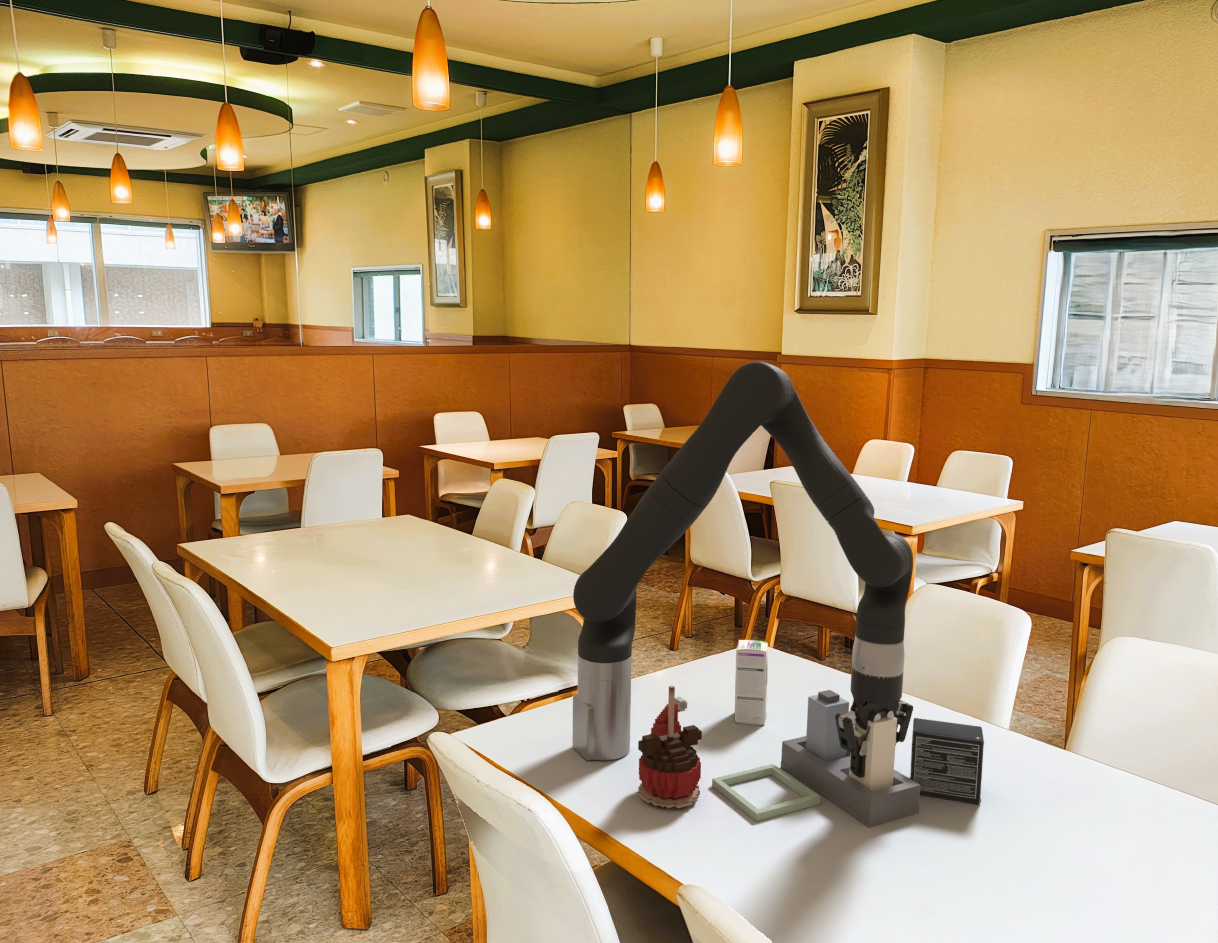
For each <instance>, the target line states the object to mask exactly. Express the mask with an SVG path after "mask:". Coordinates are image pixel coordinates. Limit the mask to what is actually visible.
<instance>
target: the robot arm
mask: <svg viewBox="0 0 1218 943" xmlns="http://www.w3.org/2000/svg"><path fill="white" fill-rule="evenodd" d="M807 412H808V411H807V410H806V408H805V406H804V405H803V402H802V401H801V399H800V396H799V394H798V393H797V391H796V388H795V387H794V384H793V382H792V381H791V378H790V377H789V374H787V373H786V372H785V371H784V370H783V369H781V368H780V367H779V366H776V365H773V364H770V363H768V362H765V361H751V362H748V363H745V364H743V365H742V366H740V367H738V368H737V369H736V370H735V371H734V372H733V373H732V374H731V376H730V377H729V378H728V380H727V382H726V383H725V384H724V386H723V388H722V390H721V391H720V393H719V395H718V397H716V399H715V400H714V402H713V405H712V406H711V407H710V409H709V410H708V413H706V416H705V417H704V419H703V420H702V421H701V423H700V424H699V426H698V427H697V428H696V429H695V430H694V432H693V433H691V435H690V436H689V437H688V439H687V440H686V441H685V442H684V443H683V444H682V445H681V447H680V448H679V449H678V451H677V452H676V453H675V454H674V455H673V457H672V458H671V459H670V460H669V462H668V463H667V464H666V465H665V467H663V469H662V470H661V471H660V472H659V474H658V475H657V476H656V478H655V479H654V480H653V481H652V483H651V484H650V485H649V487H648V488H647V490H646V491H645V493H644V494H643V496H642V497H641V498H640V500H639V501H638V503H637V504H636V505H635V508H633V511H631V513H630V515H629V517H628V518H627V520H626V522H625V523H624V524H623V526H622V527H621V529H620V531H619V532H618V534H617V535H616V537H615V538H614V540H613V541H612V542H611V544H610V545H609V546H608V547H607V548H606V549H605V550H604V551H603V552H602V554H600V555H599V557H598V558H596V560H595V561H593V563H592V564H591V565H590V566H589V567H587V569H586V570H584V571H583V572H582V573H581V574H580V575H579V576H578V578H577V580H576V582H575V585H574V588H573V594H572V595H573V596H572V597H573V603H574V607H575V610H576V611H577V613H578V614H579V615H580V616H581V617H582V618H583V622H582V627H581V630H580V634H579V636H578V640H577V694H574V695H573V696H572V748H573V749H575V750H576V752H577V753H578V754H579V755H581V757H583V758H584V759H585V760H586V761H614V760H618V759H620V758H624V757H625V756H627V755H628V754H629V752H630V750H631V715H632V714H631V709H632V708H631V707H632V697H631V696H632V660H633V659H632V650H633V641H634V638H635V632H636V617H637V595H638V594H637V593H638V592H637V585H638V584H639V583H640V582H641V581H642V578H643V577H644V576H645V574H646V573H647V571H648V570H649V569H650V568H651V566H652V565H653V564H655V562H656V561H657V560H658V559H660V557H661V556H663V554H665V553H666V552H667V551H669V549H670V548H671V547H672V546H673V545H674V544H675V543H676V542H677V541H678V540H679V539H680V538H681V537H682V536H683V535H684V534H685V533H686V532H687V531H688V530H689V529H690V528H691V526H692V525H693V524H694V523H695V522H696V520H697V519H698V518H699V516H701V514H702V513H703V512H704V510H705V509H706V508H707V507H708V505H709V504H710V503H711V501H712V500H713V498H714V497H715V496H716V493H717V492H718V489H719V488H720V486H721V485H722V482H723V480H724V477H725V475H726V473H727V471H728V468H729V467H730V464H731V462H732V461H733V459H734V457H735V456H736V454H737V453H738V451H739V450H740V449H741V447H742V446H743V445H744V444H745V443H746V441H748V439H750V437H751V436H752V435H753V434H754V433H755V432H756V431H757V430H758V429H759V428H760V427H762V428H763V429H764V430H765V431H766V432H767V433H768V434H769V435H770V436H771V438H773V439H774V440H775V442H776V443H777V444H778V445H779V447H780V448H781V450H782V451H783V452H784V454H785V455H786V458H787V459H788V460H789V462H790V463H791V466H792V467H793V469H794V471H795V473H796V475H797V477H798V479H799V481H800V484H802V487H803V489H804V491H805V492H806V494H807V495H808V497H809V499H810V500H811V501H812V503H813V505H814V506H815V507H816V509H817V511H818V512H819V513H820V514H821V516H822V517H823V518H824V520H825V521H826V522H827V524H828V525H829V526H830V527H831V528H832V530H833V532H834V534H835V535H836V538H837V540H838V542H839V545H840V547H841V549H842V550H843V553H844V555H845V557H846V559H847V561H848V563H849V565H850V566H851V569H853V571H854V572H855V573H856V575H857V576H858V578H859V579H861V580H862V581H863V582H865V583H864V590H863V595H862V596H861V598H860V600H859V601H858V604H857V609H856V617H855V618H856V619H855V636H854V642H853V647H852V654H851V655H852V656H851V674H850V693H851V696H852V700H853V701H852V703H851V705H850V708H849V712H847V713H846V714H844V715H843V714H841V713H837V714H836V716H835V720H836V726H837V731H838V736H839V742H840V746H841V747H842V748H843V749H845V750H847V751H848V752H850V753H851V761H850V770H851V771H852V773H853V774H854V775H856V776H857V777H859V778H862V777H864V776H865V762H866V755H865V753H866V750H867V742H868V741H869V740H870V728H871V727H870V726H869V725H868V721H869V720H870V721H871V722H878V721H880V718H881V716H880V714H878V713H877V712H881V711H885V712H884V716H885V718H887V719H891V718H894V717H895V718H897V728H896V743H895V747H896V746H897V744H898V743H899V742H900V743H904V742H905V740H906V737H907V734H908V729H909V726H910V722H911V719H912V714H913V711H914V706H913V705H912V704H910V703H908V702H906V701H904V700H902V697H903V685H904V671H905V668H904V667H905V627H906V626H905V625H906V608H907V601H908V597H909V592H910V588H911V582H912V578H913V577H912V576H913V571H914V555H913V550H912V548H911V546H910V544H909V542H908V541H907V540H906V539H905V538H904V537H903V536H901V535H899V534H897V533H892V532H891V533H890V532H888V533H884V532H883V530H882V528H881V527H880V525H879V524H878V523H877V521H876V519H875V517H874V516H875V508H874V506H873V504H872V502H871V500H870V498H869V497H868V496H867V494H866V493H865V492H864V491H863V489H862V488H861V486H860V485H859V484H858V482H857V481H856V480H855V478H854V477H853V476H852V475H851V473H850V472H849V470H848V469H847V468H846V467H845V465H844V464H843V463H842V461H841V460H840V459H839V458H838V456H837V455H836V454H835V453H834V452H833V450H832V448H831V447H830V446H829V445H828V444H827V442H826V441H825V439H824V438H823V436H822V435H821V433H820V432H819V430H818V429H817V427H816V425H815V424H814V422H813V421H812V419H811V418H810V416H809V414H808V413H807ZM857 724H858V726H859V727H860V728H861V729H863V730H867V731H866V734H863V733H861V732H859V731H858V730H857ZM867 727H868V728H867ZM898 727H899V731H897V730H898ZM858 737H859V738H860V739H861V742H860V745H858Z"/></svg>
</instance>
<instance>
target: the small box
mask: <svg viewBox="0 0 1218 943" xmlns="http://www.w3.org/2000/svg"><path fill="white" fill-rule="evenodd" d="M984 746H985V740H984V733H983V727H982V726H978V725H971V724H963V723H956V722H955V723H954V722H949V721H948V722H947V721H940V720H933V719H925V718H919V717H914V718H913V724H912V737H911V756H910V772H909V773H910V774H909V775H910V776H909V777H910V779H911V780H913V781H915V782H916V783H918V784H920V796H925V797H932V798H937V799H938V798H939V799H943V800H944V799H945V800H951V801H958V802H963V803H969V804H974V805H975V804H976V805H980V804H981V802H982V798H981V793H982V792H981V790H982V779H983V778H982V777H983V762H984V761H983V760H984Z"/></svg>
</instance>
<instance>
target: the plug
mask: <svg viewBox="0 0 1218 943" xmlns="http://www.w3.org/2000/svg"><path fill="white" fill-rule="evenodd" d="M884 712H885V711H881V712H877V713H878V714H880V716H881V718H880V721H878V722H871V721H870V720H869V721H868V725H869V726H870V727H871V728H870V740H869V741H868V742H867V750H866V753H865V755H866V762H865V776H864V777H862V778H859V777H857V776H856V775H854V774H853V773H852V771H851V770H850V768H849V777H851V778H852V779H854V780H856V781H857V782H859V783H860V784H862V785H864V786H865V787H867V788H868V789H870V790H871V791H877V790H881V789H884V788H888V787H891V786H893V774H894V770H895V757H896V746H895V743H896V728H897V718H895V717H894V718H891V719H887V718H885V716H884ZM867 728H868V727H867ZM897 729H898V728H897ZM857 730H858V731H859V732H861V733H863V734H866V731H867V730H863V729H861V728H860V727H859V726H858V724H857ZM860 742H861V739H860V738H859V737H858V745H860ZM896 744H897V743H896ZM850 761H851V753H850Z"/></svg>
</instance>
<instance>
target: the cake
mask: <svg viewBox="0 0 1218 943" xmlns="http://www.w3.org/2000/svg"><path fill="white" fill-rule="evenodd" d="M675 690H676V687H675V686H674V685H668V703H667V704H665V705H666V706H664V708H662V710H661V711H660V713H658V715H657V716H656V718H654V722H653V723H652V727H651V728H650V733H649V734H646V735H642V736H641V740H638V742H637V743H638V744H637V748H638V749H637V750H638V751H640V753H641V754H642V755H640V758H638V776H639V777H638V780H640V781H641V783H639V786H638V796H639V797H640V798H641V799H642V800H643V801H645V803H646V804H650V803H651V804H653V805H654V806H655V807H658V806H660V807H661V808H664V807H665V808H667V809H671V808H674V807H675V808H676V809H680V808H684V807H687V806H692V805H693V804H694V803H693V802H698V801H699V800H698V799H699V797H700V795H701V790H700V786H699V782H700V779H702V778H701V774H702V770H701V769H702V761H701V758H700V757H699V756H698V754H697V750H696V749H695V748H694V747H693V746H697V745H698V744H699V741H701V740H702V738H703V731H702V730H700V729H699V727H697V726H696V725H695V724H692V725H688V726H683V727H682V725H681V724H680V723H681V722H680V721H679V713H680V712H686V709H688V701H686V700H685V699H684V698H683V697H681V696H677V697H675V696H676V695H675V693H676V692H675Z"/></svg>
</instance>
